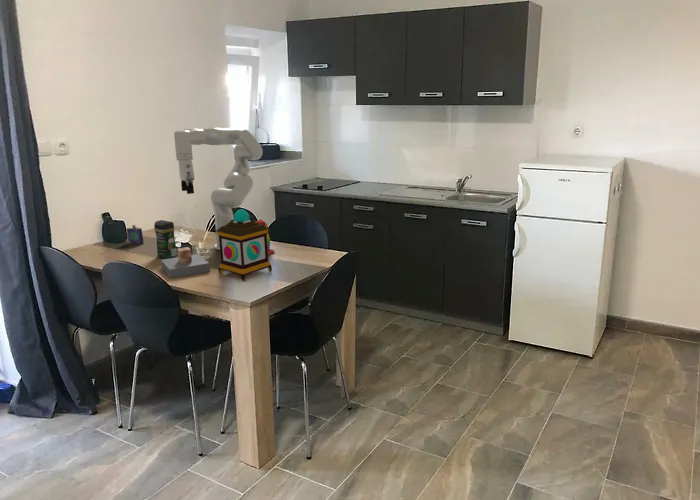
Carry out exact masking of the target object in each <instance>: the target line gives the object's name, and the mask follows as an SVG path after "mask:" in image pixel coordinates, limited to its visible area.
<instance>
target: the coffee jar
mask: <svg viewBox="0 0 700 500" xmlns="http://www.w3.org/2000/svg"><path fill="white" fill-rule="evenodd" d="M153 228H154V231H155V237H156V251H157V253H156V254H157V257H160V258H162V259H170V258H176V257H177V256H178V251H177V246H176V238H175V224H174V222H173V221H168V220H164V219H160V220H157V221H155V222H154V227H153Z"/></svg>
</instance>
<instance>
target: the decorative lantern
mask: <svg viewBox="0 0 700 500" xmlns="http://www.w3.org/2000/svg"><path fill="white" fill-rule="evenodd" d="M216 232H217V234H218V236H219V243H220V250H219V251H220V253H219V255H220V264H219V266H218V274H219V275H220V276H223V274H224V272H228V273H232V274H235V275H239V276H240V278H241V280H242V282H245V281H246V276H247V275H250V274H253V273H257V272H259V271H262V270H265V269H267V272H268V273H271V272H272V271H273V268H272V267H273V266H272V264H271V262H270V261H269V257H268V250H267V232H268V233H269V227H268V228H267V227H266V226H264V225H262V224H258V223H256V221H255V220H253V219H252V218H250V215H249V213H248V211H246V210H245V209H242V208H241V209H238V210H236V212H235V213H234V214H233V220H231V222H229V223H228V224H226V225H225V226H221V227H220V228H219V229H218V230H216V229H215V233H216Z"/></svg>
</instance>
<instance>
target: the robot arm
mask: <svg viewBox="0 0 700 500" xmlns="http://www.w3.org/2000/svg"><path fill="white" fill-rule="evenodd" d="M173 137H174V138H173V139H174V148H175V156H176V158H175V159H176V161H178V172H179V173H178V174H179V178H180V185H181V191H182V192H185V191H186V194H187V195H190V194H191V195H192V194H194V193H195V191H194V189H195V188H194V181H195V172H194V171H195V170H194V166H193V161H192V160H194V159H193V158H194V157H193V147H192V146H193V145H194V146H196V145H197V146H201V145H210V146H231V145H232V146H234V145H235V146H234V149H233V155H234V160H235V161H234V166H233V167H232V168H231V170H230V171H229V173H227V176H226V177H225V179H224V181H223V186H224V188H223V187H219V188H215V189H214V190H213V191H212V192H211V194H210V195H211V196H210V200H211V203H212V207H213V213H214V225H215V234H216V235H215V237H216V243H215V244H214V246H213V247H214V249H215V250H217V251H218V250H219V251H220V243H219V236H218V234H217V232H216V230H218V229H219V228H220V227H221V226H225V225H226V224H228V223H229V222H231V220H234V214H233V213H234V212H233V210H232V209H237V208H239V207H240V206H242V204H243V203H244V202H245V200H246V198H247V197H248V196H249V194H250V192H252V191H251V190H253V187H254V186H253V185H254V182H253V178H252V177H251V176H250V175H249V174H250V171H251V170H250V165H249V161H252V160H253V161H257V160H259V159H261V158H262V156H263V153H264V152H263V148H262V146H261V144H260V143H259V142H258V140H257V139H256V137H255V136H254V135H253V134H252V133H251V132H250V131H249V130H248V129H246V128H235V127H234V128H232V127H226V128H225V127H222V128H221V127H214V128H213V127H210V128H184V129H182V130H176V131H174V134H173Z"/></svg>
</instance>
